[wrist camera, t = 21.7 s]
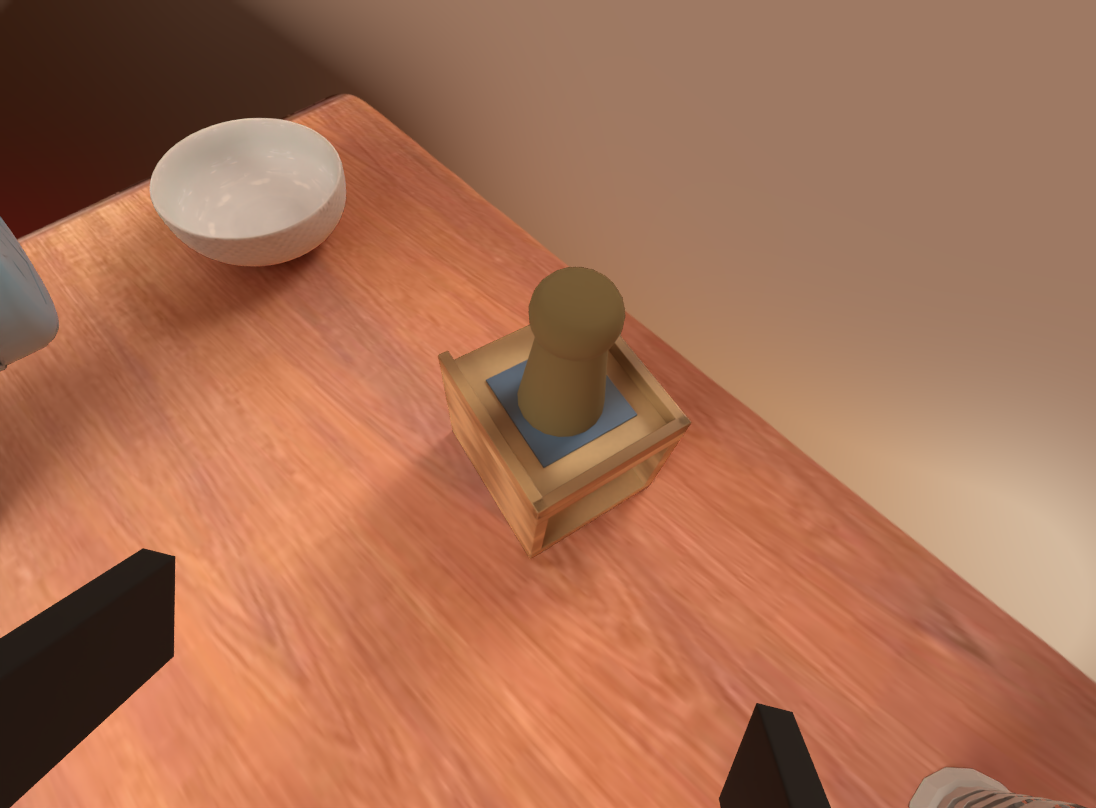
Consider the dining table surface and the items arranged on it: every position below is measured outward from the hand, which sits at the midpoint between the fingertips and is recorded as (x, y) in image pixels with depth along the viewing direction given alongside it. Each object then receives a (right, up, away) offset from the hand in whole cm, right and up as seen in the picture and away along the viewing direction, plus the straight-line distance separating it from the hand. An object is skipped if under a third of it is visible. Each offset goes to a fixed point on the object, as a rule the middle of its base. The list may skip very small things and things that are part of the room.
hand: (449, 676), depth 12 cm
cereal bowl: (-26, +24, +45) cm, 58 cm away
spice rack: (+2, +1, +35) cm, 35 cm away
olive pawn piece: (+3, +6, +26) cm, 27 cm away
